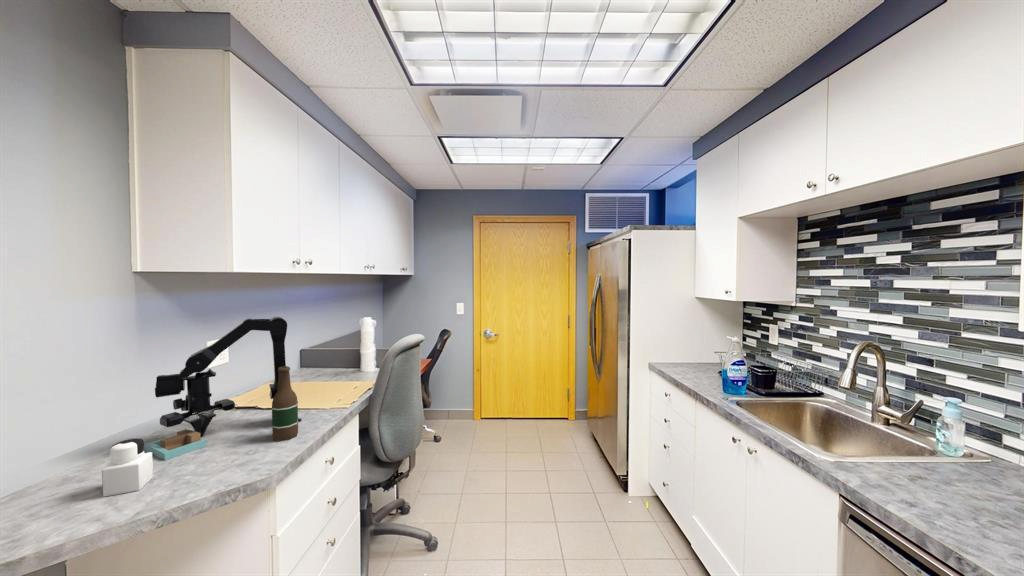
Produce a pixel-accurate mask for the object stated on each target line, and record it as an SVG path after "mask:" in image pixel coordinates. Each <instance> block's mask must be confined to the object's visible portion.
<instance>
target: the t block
mask: <svg viewBox="0 0 1024 576" xmlns="http://www.w3.org/2000/svg"><path fill="white" fill-rule="evenodd" d="M174 435H175V436H174ZM174 435H172V437H170V436H168V437H169V438H167V437H165V438H166V439H164V438H162V439H163V440H160V439H159V440H160V442H161V447H162V448H165V449H167V450H172V449H175V448H178V447H181V446H184V445H187V444H190V443H194V442H197V441H200V440H202V439H201V438H202V437H200V433H199V432H195V430H190V429H183V430H179V431H177V432H176V434H174Z"/></svg>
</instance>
